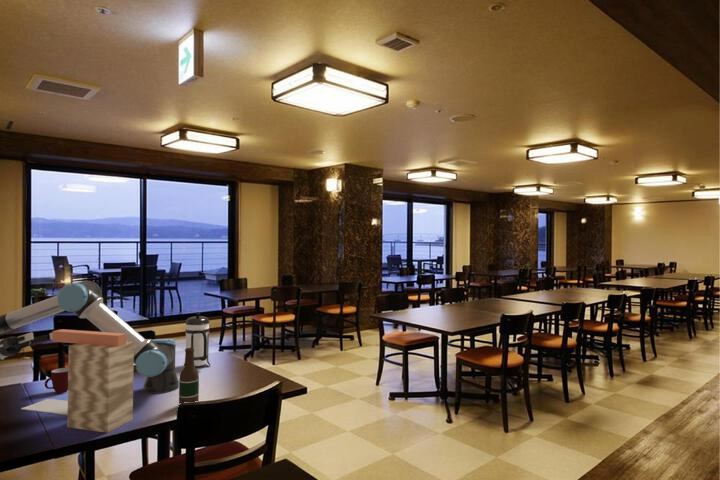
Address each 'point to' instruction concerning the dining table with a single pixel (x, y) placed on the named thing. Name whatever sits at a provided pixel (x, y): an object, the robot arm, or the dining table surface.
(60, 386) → the mug
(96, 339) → the pink long bar
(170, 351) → the robot arm
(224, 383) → the dining table surface
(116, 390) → the stand
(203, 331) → the coffee press
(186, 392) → the beer bottle
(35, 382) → the dining table surface
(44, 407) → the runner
